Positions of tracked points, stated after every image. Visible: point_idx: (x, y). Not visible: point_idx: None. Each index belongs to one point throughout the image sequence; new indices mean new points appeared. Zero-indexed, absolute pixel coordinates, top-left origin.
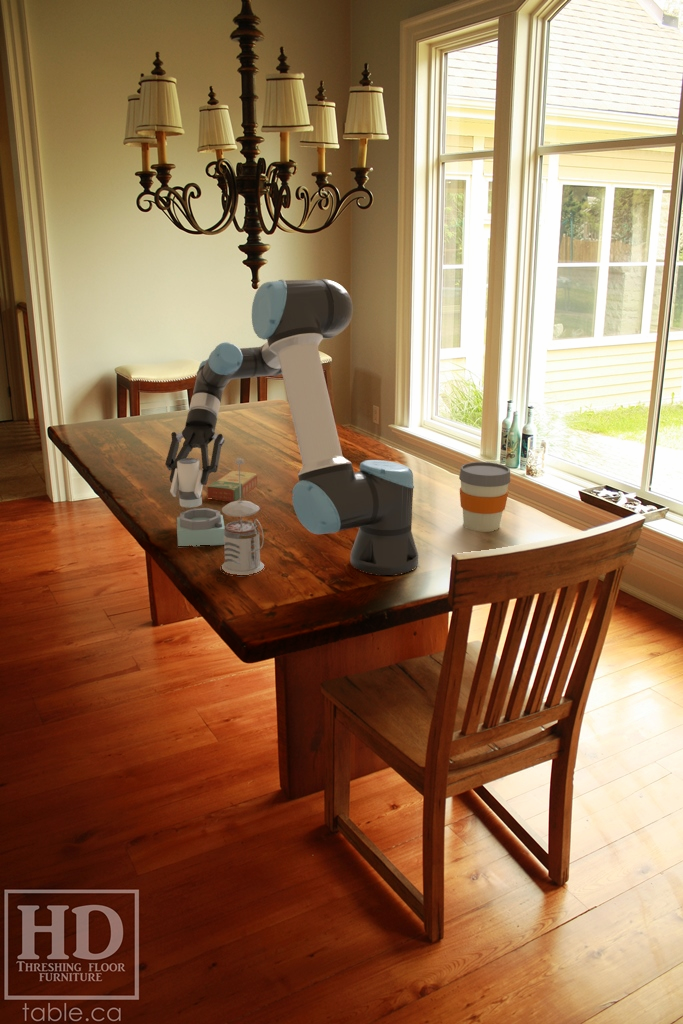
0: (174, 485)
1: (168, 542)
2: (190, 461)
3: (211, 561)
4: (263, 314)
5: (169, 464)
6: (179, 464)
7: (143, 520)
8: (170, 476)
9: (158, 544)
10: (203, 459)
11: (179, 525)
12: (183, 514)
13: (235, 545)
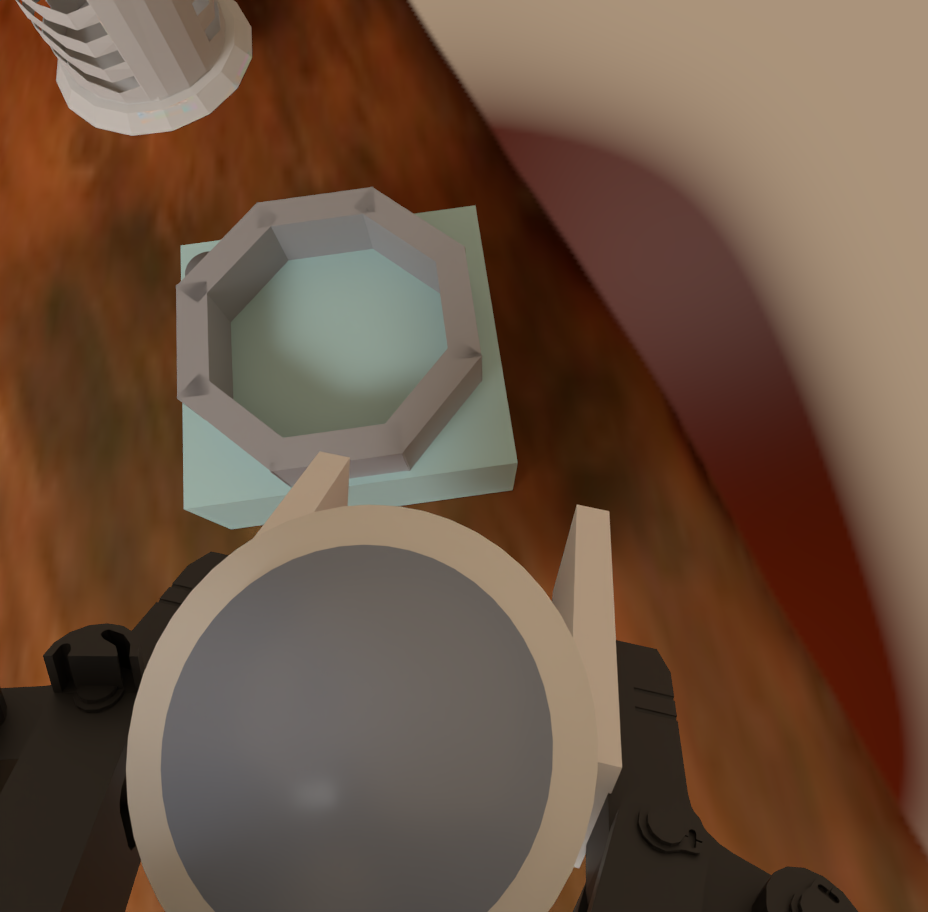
0: (574, 553)
1: (541, 335)
2: (305, 644)
3: (294, 108)
4: None
5: (767, 887)
6: (522, 571)
7: (805, 743)
8: (667, 700)
9: (592, 307)
10: (34, 873)
11: (474, 299)
12: (449, 328)
13: (137, 37)
